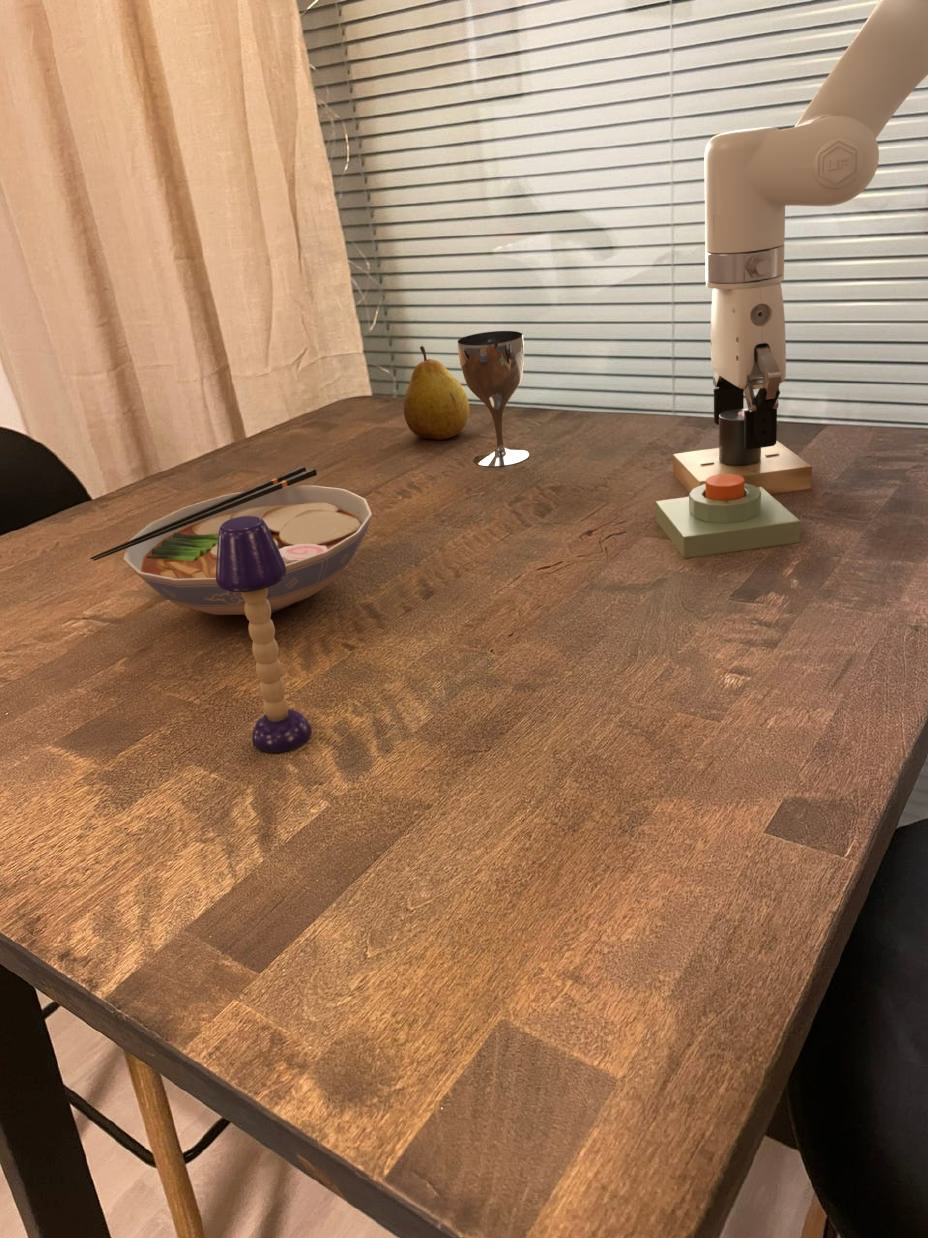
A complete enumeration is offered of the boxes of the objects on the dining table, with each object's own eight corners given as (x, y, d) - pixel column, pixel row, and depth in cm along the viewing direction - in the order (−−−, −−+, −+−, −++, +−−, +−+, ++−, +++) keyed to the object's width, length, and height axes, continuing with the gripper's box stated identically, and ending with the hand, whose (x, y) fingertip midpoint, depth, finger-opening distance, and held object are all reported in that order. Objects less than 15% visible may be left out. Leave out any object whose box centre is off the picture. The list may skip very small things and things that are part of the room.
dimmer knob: (713, 455, 107) (713, 408, 105) (753, 450, 107) (754, 403, 105) (725, 467, 104) (726, 419, 101) (766, 462, 104) (768, 414, 101)
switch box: (761, 506, 99) (762, 469, 98) (799, 542, 91) (801, 502, 89) (655, 521, 99) (654, 484, 97) (683, 558, 90) (683, 518, 88)
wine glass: (529, 465, 120) (519, 342, 113) (466, 469, 121) (452, 347, 114) (535, 445, 127) (526, 328, 120) (475, 449, 128) (462, 333, 121)
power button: (736, 488, 95) (737, 471, 94) (749, 500, 92) (750, 483, 91) (700, 493, 95) (700, 476, 94) (712, 505, 92) (712, 488, 91)
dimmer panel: (775, 460, 111) (776, 438, 110) (811, 488, 102) (812, 464, 101) (672, 474, 111) (672, 452, 110) (699, 504, 102) (699, 480, 101)
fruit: (464, 443, 131) (453, 353, 126) (400, 445, 134) (387, 357, 128) (478, 424, 139) (469, 339, 133) (417, 427, 141) (406, 343, 136)
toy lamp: (297, 711, 73) (252, 504, 66) (332, 733, 70) (288, 518, 63) (242, 739, 71) (188, 527, 63) (275, 763, 68) (223, 542, 60)
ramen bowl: (221, 690, 78) (197, 599, 74) (89, 621, 93) (63, 542, 89) (441, 576, 93) (430, 495, 89) (297, 532, 108) (282, 461, 104)
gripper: (817, 272, 89) (810, 451, 97) (750, 253, 104) (749, 409, 112) (736, 283, 89) (736, 463, 96) (682, 263, 104) (686, 419, 112)
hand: (743, 434), depth 104 cm, fingers open, 9 cm apart
